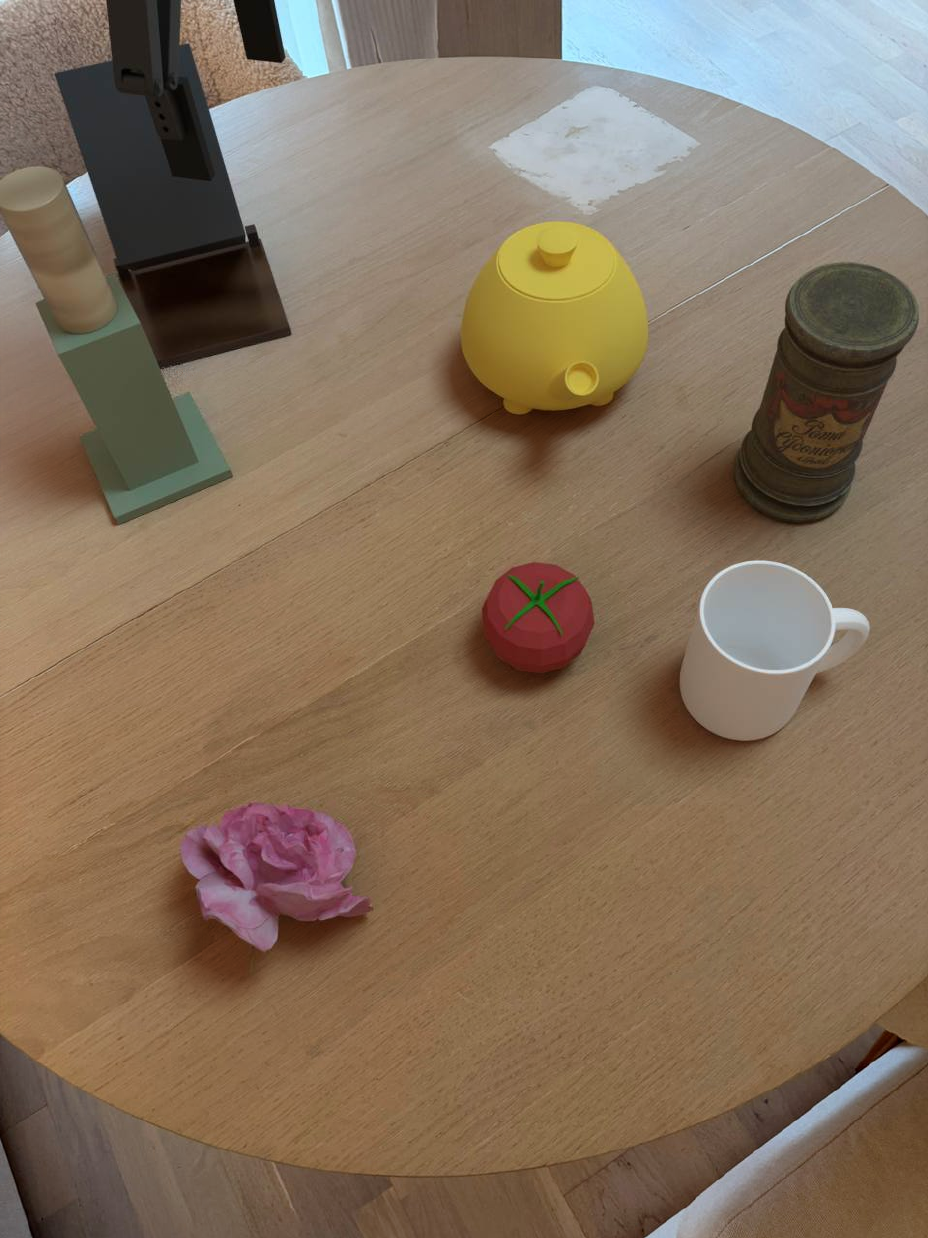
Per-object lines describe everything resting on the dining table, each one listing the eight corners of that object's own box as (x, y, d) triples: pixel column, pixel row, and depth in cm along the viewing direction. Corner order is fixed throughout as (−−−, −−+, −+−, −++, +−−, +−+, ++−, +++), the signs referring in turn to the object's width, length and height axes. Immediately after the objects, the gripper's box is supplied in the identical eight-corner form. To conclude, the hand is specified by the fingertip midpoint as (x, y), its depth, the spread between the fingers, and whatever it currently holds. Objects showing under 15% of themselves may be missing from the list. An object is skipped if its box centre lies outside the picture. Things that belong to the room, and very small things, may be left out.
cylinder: (48, 304, 72) (-16, 180, 64) (107, 282, 73) (52, 157, 64) (65, 342, 70) (1, 219, 61) (126, 319, 71) (71, 194, 62)
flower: (284, 821, 71) (345, 744, 65) (344, 950, 67) (415, 881, 61) (131, 861, 64) (184, 778, 58) (188, 1010, 60) (251, 937, 54)
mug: (825, 624, 74) (866, 541, 65) (866, 725, 69) (916, 652, 61) (664, 649, 73) (683, 570, 65) (695, 753, 69) (720, 683, 60)
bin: (245, 234, 87) (189, 42, 82) (119, 266, 86) (54, 72, 81) (245, 242, 97) (195, 72, 92) (132, 270, 96) (75, 99, 91)
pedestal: (83, 443, 87) (0, 295, 73) (192, 399, 89) (132, 247, 75) (118, 525, 82) (37, 383, 68) (233, 476, 84) (176, 329, 70)
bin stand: (291, 334, 92) (286, 312, 90) (140, 374, 91) (130, 352, 88) (262, 245, 99) (256, 222, 97) (120, 281, 97) (111, 258, 95)
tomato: (611, 660, 73) (620, 604, 67) (517, 708, 72) (516, 655, 65) (554, 580, 77) (557, 519, 70) (464, 623, 75) (459, 565, 69)
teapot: (669, 467, 82) (694, 339, 70) (479, 488, 82) (471, 364, 70) (624, 298, 92) (639, 163, 81) (455, 317, 92) (445, 183, 80)
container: (727, 437, 83) (773, 257, 68) (838, 436, 83) (910, 254, 67) (739, 525, 79) (791, 353, 63) (857, 524, 78) (939, 351, 63)
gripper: (92, -165, 45) (214, 239, 63) (284, -366, 57) (340, 20, 75) (-58, -176, 46) (104, 223, 64) (161, -371, 58) (245, 10, 76)
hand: (231, 114), depth 70 cm, fingers open, 13 cm apart
